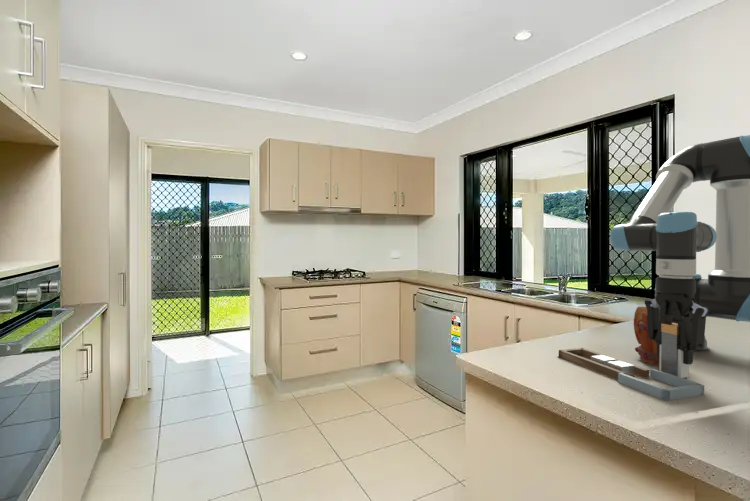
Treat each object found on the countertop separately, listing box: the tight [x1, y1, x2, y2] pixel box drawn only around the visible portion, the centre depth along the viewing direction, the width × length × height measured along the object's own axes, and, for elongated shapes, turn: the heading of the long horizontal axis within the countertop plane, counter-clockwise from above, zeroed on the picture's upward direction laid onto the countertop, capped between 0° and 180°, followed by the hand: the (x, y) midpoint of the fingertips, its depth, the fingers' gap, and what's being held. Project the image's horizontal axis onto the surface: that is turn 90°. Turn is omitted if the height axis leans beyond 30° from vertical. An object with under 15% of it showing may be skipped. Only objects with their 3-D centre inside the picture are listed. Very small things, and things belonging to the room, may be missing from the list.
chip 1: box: [591, 354, 617, 366], centre depth 98 cm, size 4×4×2 cm
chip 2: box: [607, 359, 636, 376], centre depth 93 cm, size 4×4×2 cm
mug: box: [633, 306, 660, 366], centre depth 105 cm, size 15×8×15 cm, turn 168°
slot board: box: [556, 347, 651, 382], centre depth 99 cm, size 10×20×3 cm, turn 16°
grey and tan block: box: [661, 323, 688, 380], centre depth 90 cm, size 4×4×14 cm
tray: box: [617, 368, 705, 402], centre depth 84 cm, size 11×11×3 cm
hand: (673, 373), depth 90 cm, fingers closed on grey and tan block, 3 cm apart
